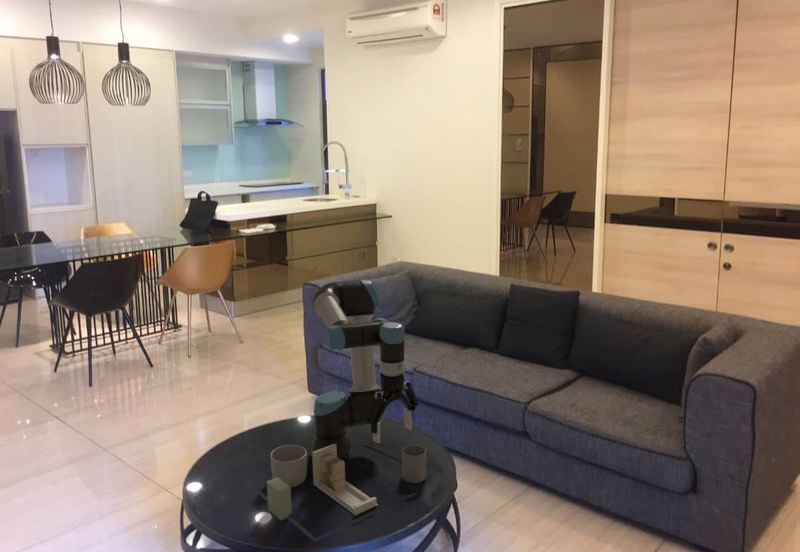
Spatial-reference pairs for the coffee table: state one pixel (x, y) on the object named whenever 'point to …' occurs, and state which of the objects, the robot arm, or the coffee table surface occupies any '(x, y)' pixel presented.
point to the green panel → (279, 498)
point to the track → (348, 496)
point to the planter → (289, 464)
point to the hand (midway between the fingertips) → (392, 434)
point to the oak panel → (333, 472)
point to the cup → (413, 463)
